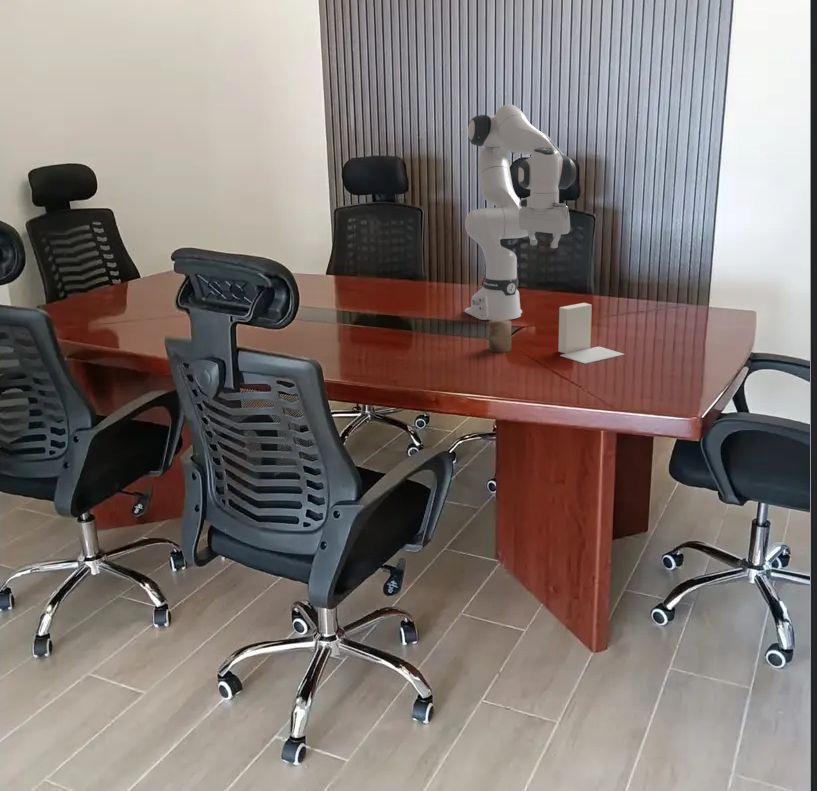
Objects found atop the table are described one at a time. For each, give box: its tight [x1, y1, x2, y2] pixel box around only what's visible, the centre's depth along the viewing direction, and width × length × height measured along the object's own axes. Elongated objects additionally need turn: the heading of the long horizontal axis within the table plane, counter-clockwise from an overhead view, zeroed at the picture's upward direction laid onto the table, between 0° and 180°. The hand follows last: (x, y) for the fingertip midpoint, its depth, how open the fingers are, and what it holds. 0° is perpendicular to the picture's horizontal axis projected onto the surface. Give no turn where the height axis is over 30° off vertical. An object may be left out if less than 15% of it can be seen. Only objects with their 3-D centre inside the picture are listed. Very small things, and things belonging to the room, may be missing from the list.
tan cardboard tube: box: [488, 319, 512, 354], centre depth 276 cm, size 7×7×9 cm
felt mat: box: [559, 346, 625, 365], centre depth 268 cm, size 11×16×1 cm
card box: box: [557, 302, 593, 354], centre depth 272 cm, size 4×10×14 cm, turn 122°
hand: (543, 246), depth 279 cm, fingers open, 8 cm apart
